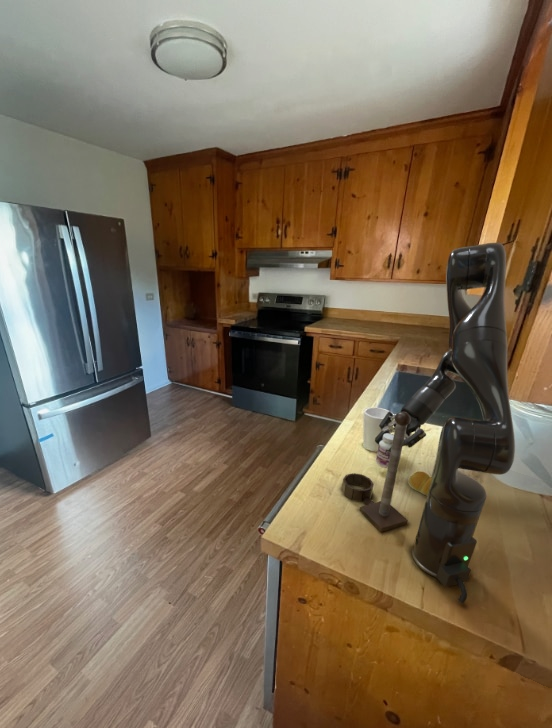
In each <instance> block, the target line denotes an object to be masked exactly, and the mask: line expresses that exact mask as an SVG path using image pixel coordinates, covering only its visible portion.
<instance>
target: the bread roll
mask: <svg viewBox="0 0 552 728" xmlns="http://www.w3.org/2000/svg"><path fill="white" fill-rule="evenodd" d="M431 479H432V476H430V475H429V474H428V473H427V472H425V471H416V472H414V473H412V474H411V475H409V477H408V478H407V483H408V485H409V486H410V488H411V489H413V490H414V491H416V492H418V493H421V494H422V495H424V496H426V497H427V494H428V490H429V487H430V483H431Z"/></svg>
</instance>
